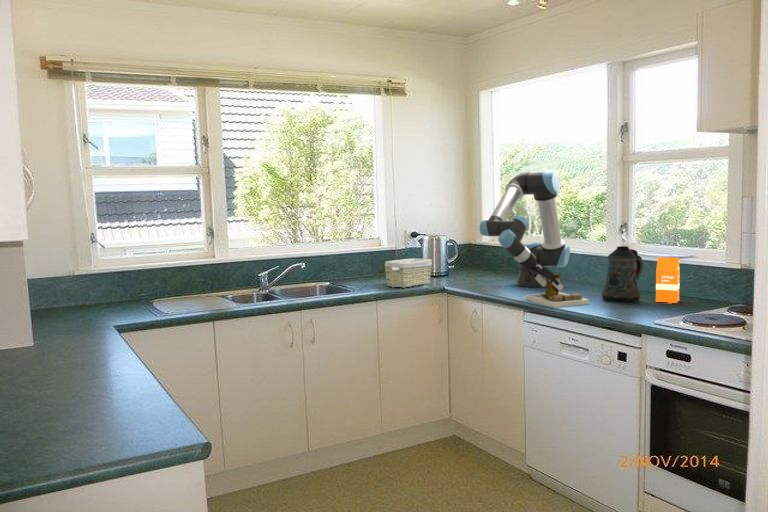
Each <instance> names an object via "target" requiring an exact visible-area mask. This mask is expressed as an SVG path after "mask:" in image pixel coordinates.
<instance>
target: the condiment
mask: <svg viewBox="0 0 768 512" xmlns="http://www.w3.org/2000/svg"><path fill="white" fill-rule="evenodd" d="M551 272H552V273H553V274H554V275H555V276H557V278H556V279H557V280H558V281H559V282H560V283H561V280H560V277H561V275H560V273H558V272H555V271H551ZM545 281H546V285H545V289H544V290H545V291H544V292H543V293H545V294H543V293H539V294H540V298H542V299H548V300H550V296H555V295H558V293H559V292H560V291H559V290H558V289H557V288H556V287H555V286H554V285H553V284H552V283H550V282H551V281H550V280H549V279H547V278H546V280H545Z"/></svg>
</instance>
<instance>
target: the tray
mask: <svg viewBox="0 0 768 512" xmlns="http://www.w3.org/2000/svg"><path fill="white" fill-rule="evenodd" d="M540 294H541V293H534V294H533V293H532V294H526V295H525V300H527V301H530V302H534V303H537V304H540V305H544V306H548V307H550V308H555V309H556V308H564V307H573V306H583V305H589V304H590V299H588V298H584V297H582V300H573V301H563V302H552V301H550V300H548V299H542V298H540ZM543 294H545V292H543ZM565 294H567V295H569V294H570V293H569V294H568V293H564V292H561V291H559V293H558V295H565Z"/></svg>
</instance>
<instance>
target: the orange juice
mask: <svg viewBox="0 0 768 512" xmlns="http://www.w3.org/2000/svg"><path fill="white" fill-rule="evenodd" d="M680 269H681V268H680V258H679V257H657V261H656V269H655V303H656V302H668V303H667V304H672V303H677V302H678V301H679V302H680V283H681V282H680V278H681V276H680V274H681V273H680ZM679 302H678V303H679ZM678 303H677V304H678Z"/></svg>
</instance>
